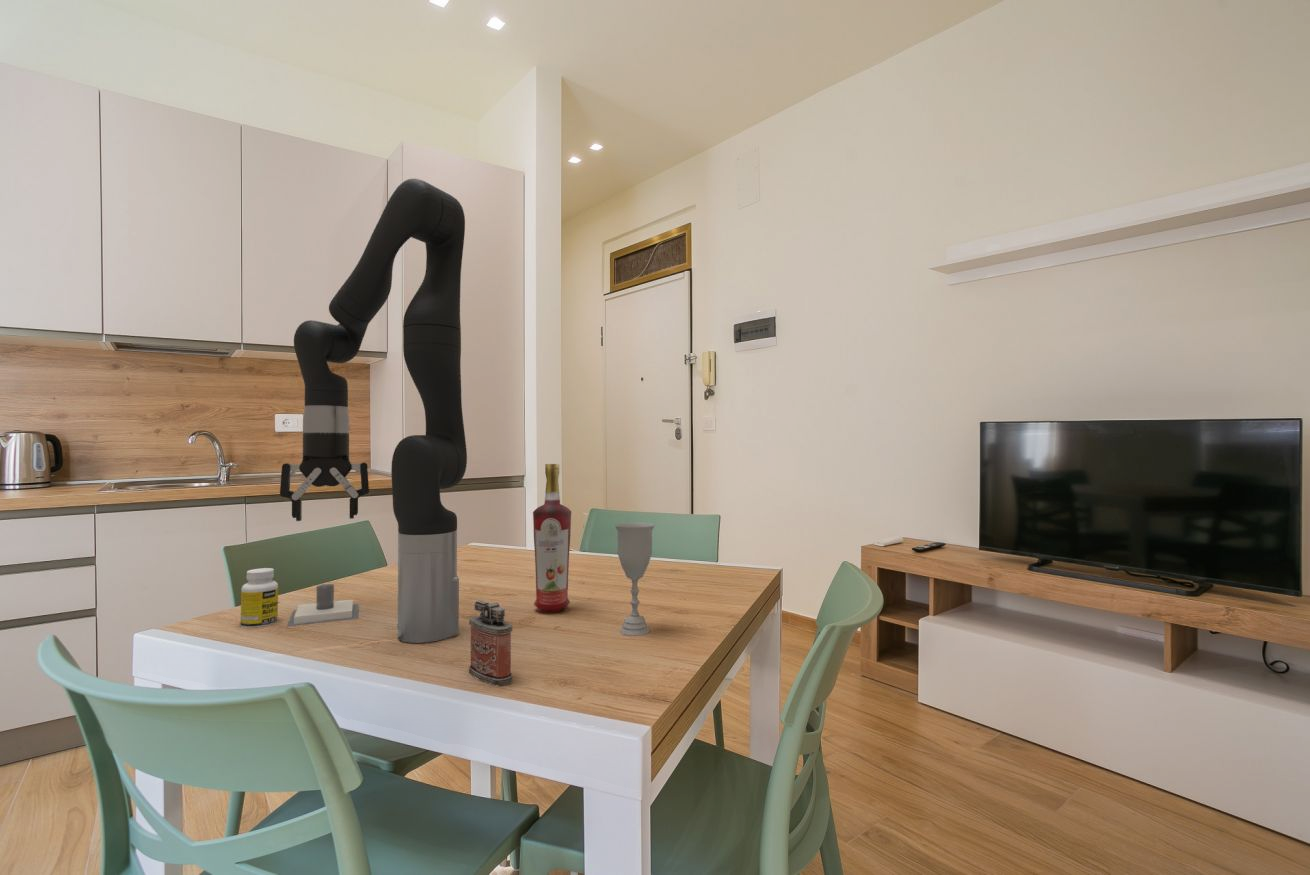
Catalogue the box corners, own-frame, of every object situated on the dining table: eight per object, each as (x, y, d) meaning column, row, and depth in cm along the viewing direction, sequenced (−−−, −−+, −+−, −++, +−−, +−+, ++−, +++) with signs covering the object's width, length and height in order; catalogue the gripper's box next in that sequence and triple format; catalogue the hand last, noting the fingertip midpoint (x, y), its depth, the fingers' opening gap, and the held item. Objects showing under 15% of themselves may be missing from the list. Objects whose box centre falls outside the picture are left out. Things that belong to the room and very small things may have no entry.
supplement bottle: (264, 631, 102) (264, 573, 102) (232, 631, 102) (233, 573, 102) (284, 621, 107) (285, 567, 107) (254, 621, 107) (255, 566, 107)
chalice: (646, 639, 97) (646, 528, 98) (607, 635, 99) (607, 526, 100) (660, 626, 104) (660, 523, 104) (624, 622, 106) (624, 521, 107)
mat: (358, 606, 117) (358, 603, 117) (358, 621, 107) (358, 618, 107) (293, 613, 112) (293, 610, 112) (286, 629, 102) (286, 626, 102)
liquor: (572, 604, 119) (572, 463, 119) (569, 614, 112) (570, 464, 112) (535, 605, 118) (535, 463, 119) (530, 615, 111) (530, 464, 112)
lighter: (518, 680, 80) (518, 605, 80) (496, 688, 78) (496, 611, 78) (484, 666, 85) (485, 595, 86) (463, 672, 83) (463, 600, 83)
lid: (353, 605, 116) (353, 578, 116) (352, 617, 108) (352, 588, 108) (299, 611, 112) (299, 583, 112) (293, 623, 104) (294, 593, 104)
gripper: (278, 430, 104) (277, 524, 103) (369, 431, 110) (368, 519, 110) (283, 431, 110) (283, 519, 110) (369, 432, 117) (368, 515, 116)
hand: (325, 519), depth 110 cm, fingers open, 8 cm apart
